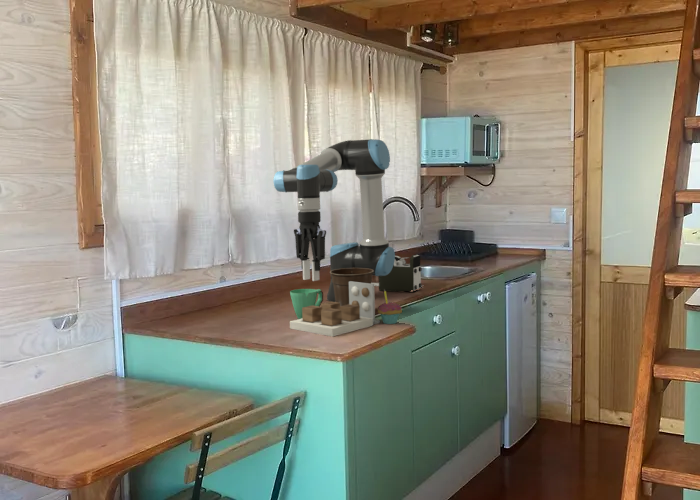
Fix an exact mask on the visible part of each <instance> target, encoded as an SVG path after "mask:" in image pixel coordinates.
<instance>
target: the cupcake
mask: <svg viewBox="0 0 700 500" xmlns="http://www.w3.org/2000/svg"><path fill="white" fill-rule="evenodd" d="M383 293H384V299H385V302H383V303H381V304H380V305H379V306H378V307H377V313H378V314H379V315H380V318H381V319H382V323H383V324H386V325H393V324H397V323H398V319H399V316H400V314H402V313H403V309H402V306H401V304H398V303H397V302H391V301H388V296H387V291H385V289H384V291H383Z"/></svg>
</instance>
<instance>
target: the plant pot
mask: <svg viewBox="0 0 700 500" xmlns="http://www.w3.org/2000/svg"><path fill="white" fill-rule="evenodd" d="M373 272H374V270H372V269H368V268H342V269H335V270H332V271H331V270H330V271H329V274H330V278H331V277H332V283H333V286H334V294H335V302H337V303H340V306H343V305H348V304H349V282H350V281H352V282H361V283H369V284H371V283H373V275H372V273H373Z"/></svg>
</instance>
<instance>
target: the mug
mask: <svg viewBox="0 0 700 500" xmlns="http://www.w3.org/2000/svg"><path fill="white" fill-rule="evenodd" d="M289 294H290V298H291V303H292V306H293V310H294V312H295V315H296V317H297V320H298V319H302V308H303V307H307V306H312V305H313V306H319V307H321V303H323V301H324V292H323V290H322V289H320V288H318V289H317V288H316V289H315V288H299V289H293V290H290V291H289ZM317 295H318V296H317Z"/></svg>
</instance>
